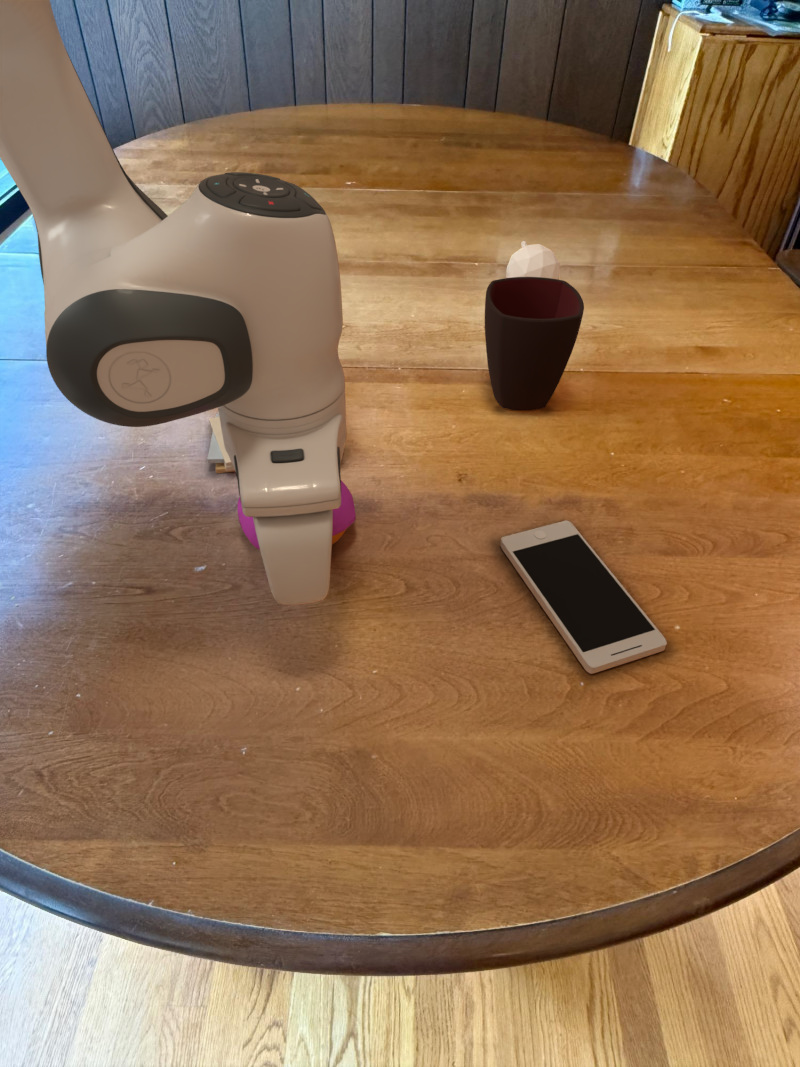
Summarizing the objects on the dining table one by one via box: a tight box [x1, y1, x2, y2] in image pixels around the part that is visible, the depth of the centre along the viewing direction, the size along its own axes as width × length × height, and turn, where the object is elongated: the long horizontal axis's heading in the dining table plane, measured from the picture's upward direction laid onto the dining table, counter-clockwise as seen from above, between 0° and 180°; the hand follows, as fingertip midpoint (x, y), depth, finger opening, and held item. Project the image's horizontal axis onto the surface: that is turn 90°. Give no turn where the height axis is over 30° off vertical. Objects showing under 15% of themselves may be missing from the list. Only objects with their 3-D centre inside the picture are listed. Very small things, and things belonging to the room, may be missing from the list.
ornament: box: [505, 240, 561, 280], centre depth 103 cm, size 7×7×8 cm
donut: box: [237, 480, 357, 551], centre depth 69 cm, size 10×10×5 cm
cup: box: [484, 277, 585, 412], centre depth 85 cm, size 10×14×12 cm
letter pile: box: [206, 412, 346, 474], centre depth 80 cm, size 14×10×2 cm
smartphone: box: [500, 520, 668, 675], centre depth 65 cm, size 7×15×1 cm, turn 21°
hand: (297, 558), depth 64 cm, fingers closed
